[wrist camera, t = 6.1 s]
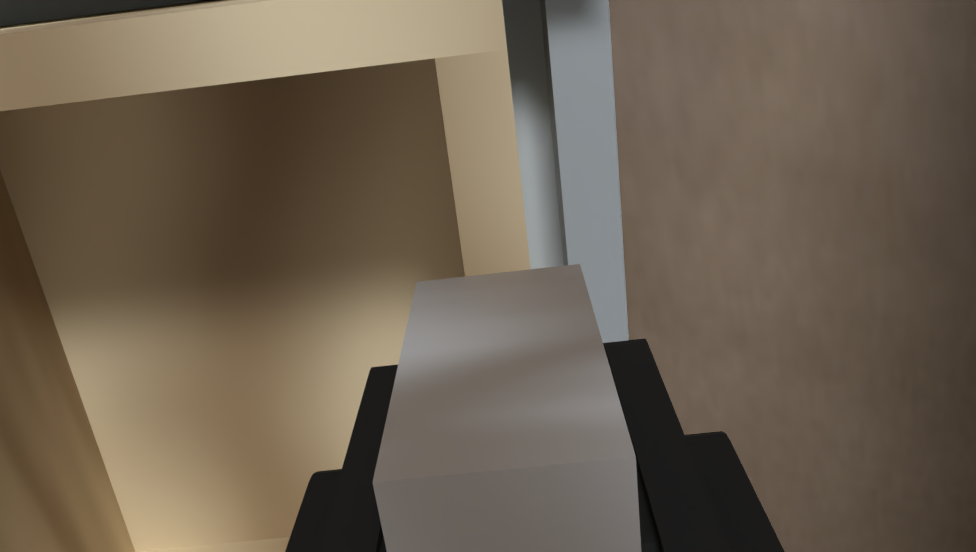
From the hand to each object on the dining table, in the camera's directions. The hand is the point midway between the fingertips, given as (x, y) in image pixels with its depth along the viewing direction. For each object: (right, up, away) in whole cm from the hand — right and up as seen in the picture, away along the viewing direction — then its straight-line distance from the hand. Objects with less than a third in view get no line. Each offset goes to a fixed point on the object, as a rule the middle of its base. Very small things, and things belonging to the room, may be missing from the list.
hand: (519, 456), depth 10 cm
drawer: (-4, +2, +6) cm, 7 cm away
